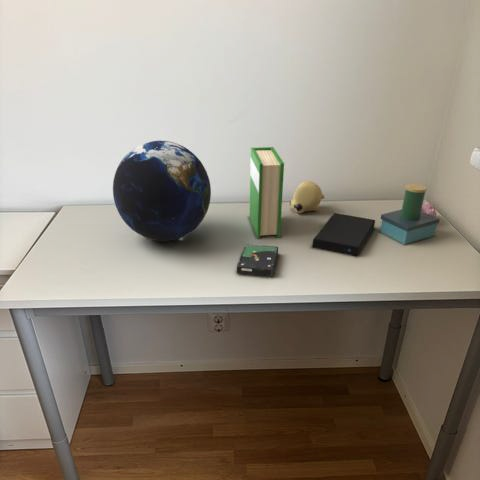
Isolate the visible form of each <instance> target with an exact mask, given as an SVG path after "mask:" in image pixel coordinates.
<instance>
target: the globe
mask: <svg viewBox="0 0 480 480" xmlns="http://www.w3.org/2000/svg"><path fill="white" fill-rule="evenodd" d="M112 196H113V200H114V202H113V203H114V206H115V208H116V210H117V212H118V214H119V216H120V218H121V219H122V220H123V222H124V223H125V224H126V225H127V226H128V227H129V228H130V229H131V230H132V231H134V232H135V233H136V234H139V236H142V237H144V238H146V239H148V240H152V241H159V242H168V241H170V242H171V241H175V240H178V239H181V238H183V237H186V236H188V235H189V234H191V233H192V232H193V231H194V230H196V229H197V227H199V226H200V224H201V223H202V222H203V221H204V218H205V217H206V215H207V213H208V211H209V208H210V203H211V197H212V188H211V181H210V178H209V175H208V171H207V169H206V168H205V166H204V164H203V163H202V162H201V160H200V159H199V158H198V157H197V156H196V154H195V153H194V152H193V151H191V150H189V148H187V147H186V146H183V145H181V144H179V143H176V142H174V141H169V140H151V141H147V142H144V143H141V144H139V145H138V146H136V147H134V148H132V149H131V150H130V151H129V152H127V154H125V156H123V158H122V159H121V161H120V162H119V164H118V166H117V168H116V170H115V172H114V176H113V181H112Z"/></svg>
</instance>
